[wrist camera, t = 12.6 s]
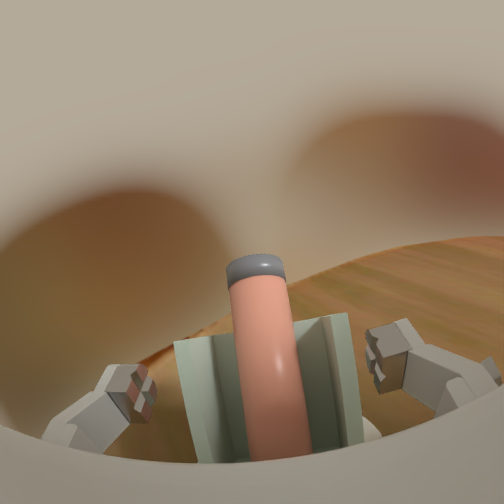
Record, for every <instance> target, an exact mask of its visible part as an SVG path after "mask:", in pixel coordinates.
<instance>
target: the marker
mask: <svg viewBox="0 0 504 504" xmlns="http://www.w3.org/2000/svg"><path fill="white" fill-rule="evenodd" d="M226 273H227V283H228V290H229V294H230V302H231V312H232V321H233V330H234V339H235V347H236V355H237V364H238V372H239V380H240V388H241V395H242V403H243V410H244V418H245V425H246V432H247V439H248V446H249V453H250V459H251V462H256V461H266V460H276V459H284V458H291V457H298V456H304V455H310V454H313V448H312V441H311V434H310V427H309V420H308V414H307V407H306V400H305V394H304V388H303V381H302V375H301V369H300V363H299V357H298V351H297V345H296V339H295V333H294V327H293V321H292V316H291V310H290V304H289V299H288V293H287V288H286V278H285V273H284V267H283V262H282V260H281V259H280V258H279V257H277V256H274V255H269V254H254V255H248V256H244V257H241V258H239V259H236V260H234V261H232V262H231V263H230V264H229V265H228V266H227V268H226Z"/></svg>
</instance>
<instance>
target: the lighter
mask: <svg viewBox="0 0 504 504" xmlns="http://www.w3.org/2000/svg"><path fill="white" fill-rule="evenodd" d="M479 364H482V365H483V366H484V368H485V369H486V370H487V372H488V373H489V374H490V376H491V377H492V378H493V380H494V381H495V383H496V384H497V385H498V387H499V386H501V385H503V384H504V383H503V384H502V381H501V374H500V371H499V369H498V368H497V366H496V364H495V362H494V361H493V359H492V357H491V356H489V357H488V358H487V359H485V360H484V361H482V362H481V363H479Z"/></svg>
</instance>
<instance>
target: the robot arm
mask: <svg viewBox="0 0 504 504" xmlns="http://www.w3.org/2000/svg"><path fill="white" fill-rule="evenodd" d="M366 340H367V343H368V346H367V347H366V362H367V366H368V369H369V371H370V373H372V374H373V375H374V383H375V386H376V388H377V391H378V393H379V395H380V394H384V393H388V392H391V391H395V390H398V389H402V390H403V391H405V392H406V393H408V394H409V395H411V396H412V397H413V398H415V399H416V400H418V401H419V402H421V403H422V404H424V405H425V406H427V407H428V408H430V409H431V410H433V411H434V412H436V413H435V416H434V418H433V419H432V420H430V421H427V422H425V423H422V424H419V425H417V426H414V427H411V428H409V429H406V430H403V431H400V432H397V433H394V434H391V435H388V436H385V437H381V438H378V439H375V440H371V441H368V442H364V443H360V444H356V445H352V446H348V447H344V448H340V449H335V450H331V451H326V452H321V453H315V454H310V455H304V456H298V457H291V458H284V459H276V460H266V461H256V462H241V463H211V464H201V463H171V462H157V461H146V460H137V459H129V458H122V457H115V456H109V455H105V454H104V453H103V452H104V451H105V450H106V449H107V448H108V447H109V446H110V445H111V444H112V443H113V442H114V441H115V439H116V438H117V437H118V436H119V435H120V434H121V433H122V432H123V431H124V430H125V429H126V428H127V427H128V426H129V425H130V423H149V420H150V417H151V414H152V411H153V410H152V408H151V406H152V405H153V404H154V403H155V402H156V398H157V388H156V385H155V383H154V381H153V379H151V378H150V377H148V376H147V374H148V370H147V369H146V367H145V366H144V365H142V364H120V365H118V364H115V365H113V364H112V365H109V366H107V368H106V370H105V371H104V373H103V375H102V377H101V379H100V380H99V382H98V384H97V386H96V388H95V390H94V391H93V392H89V393H88V394H86V395H85V396H84V397H82V398H81V399H79V400H78V401H77V402H75V403H74V404H72V405H71V406H70V407H68V408H67V409H65V410H64V411H63V412H61V413H60V414H58V415H57V416H55V417H54V418H53V419H52V420H51V421H50V423H49V425H48V427H47V428H46V430H45V432H44V434H43V436H42V438H41V439H38V438H35V437H32V436H29V435H26V434H23V433H20V432H18V431H15V430H12V429H10V428H7V427H4V426H2V425H0V504H504V384H503V385H501V386H499V387H498V385H497V384H496V383H495V381H494V380H493V378H492V377H491V376H490V374H489V373H488V372H487V370H486V369H485V368H484V366H483V365H482V364H479V363H477V362H474V361H472V360H469V359H466V358H464V357H461V356H459V355H456V354H454V353H451V352H449V351H446V350H444V349H441V348H439V347H436V346H434V345H431V344H427V345H426V344H425V343H424V341H423V340H422V339H421V337H420V336H419V334H418V333H417V332H416V330H415V329H414V327H413V326H412V325H411V323H410V322H409V321H408V319H406V318H405V319H401V320H398V321H395V322H393V323H389V324H386V325H382V326H378V327H375V328H371V329H367V330H366Z"/></svg>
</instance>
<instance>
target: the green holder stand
mask: <svg viewBox="0 0 504 504" xmlns="http://www.w3.org/2000/svg"><path fill="white" fill-rule="evenodd" d="M293 327H294V333H295V339H296V345H297V351H298V357H299V363H300V369H301V375H302V381H303V388H304V394H305V400H306V407H307V414H308V420H309V427H310V434H311V441H312V448H313V454H315V453H321V452H326V451H331V450H335V449H340V448H344V447H348V446H352V445H356V444H360V443H364V442H368V441H371V440H375V439H378V438H381V437H382V435H381V433H380V432H379V431H378V430H377V428H376V427H375V426H374V425H373V424H372V423H371V422H370V421H368V420H367V419H366V418H365V417H363V416H362V410H361V401H360V392H359V385H358V377H357V370H356V363H355V356H354V350H353V344H352V338H351V332H350V326H349V320H348V315H347V313H340V314H332V315H327V316H322V317H318V318H313V319H308V320H303V321H298V322H293ZM173 343H174V349H175V355H176V361H177V367H178V372H179V378H180V383H181V388H182V394H183V398H184V403H185V408H186V413H187V417H188V422H189V426H190V431H191V435H192V439H193V443H194V447H195V451H196V455H197V459H198V463H201V464H211V463H241V462H251V459H250V453H249V446H248V439H247V432H246V425H245V418H244V410H243V403H242V395H241V388H240V380H239V372H238V364H237V355H236V347H235V339H234V332H233V333H226V334H219V335H212V336H204V337H199V338H193V339H187V340H180V341H174V342H173Z"/></svg>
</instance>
